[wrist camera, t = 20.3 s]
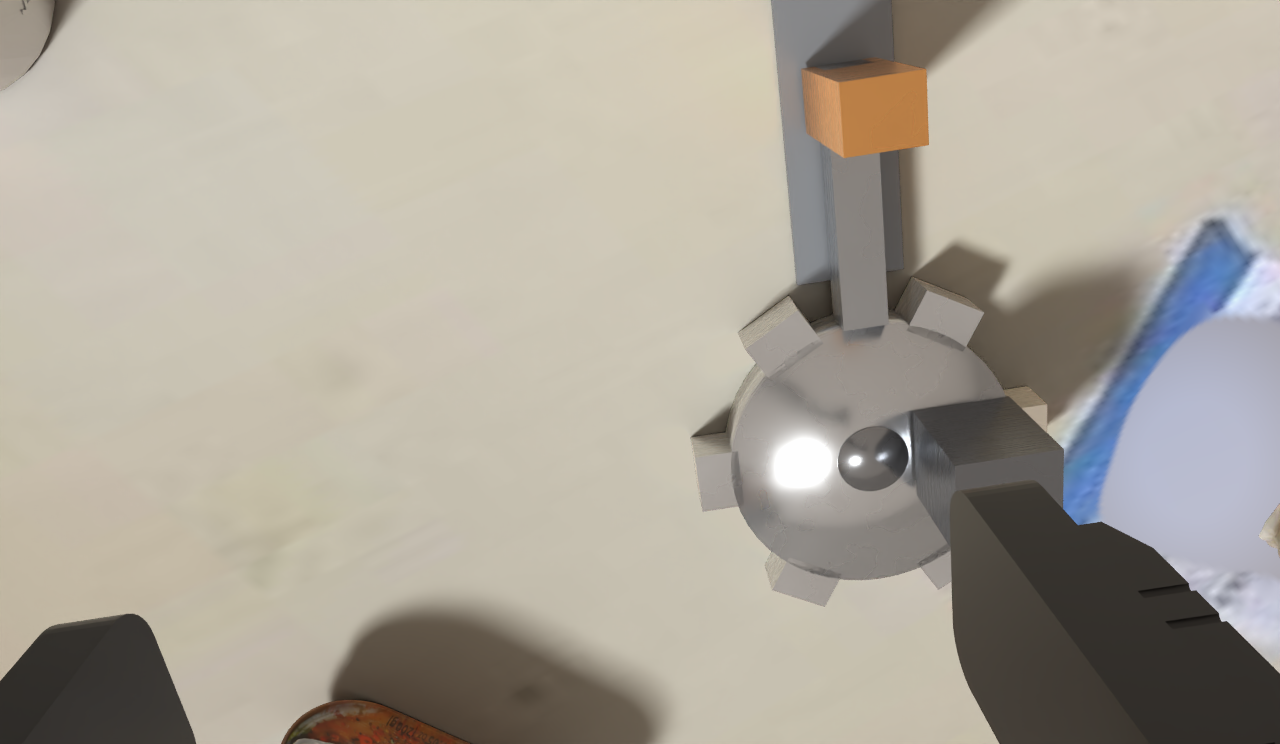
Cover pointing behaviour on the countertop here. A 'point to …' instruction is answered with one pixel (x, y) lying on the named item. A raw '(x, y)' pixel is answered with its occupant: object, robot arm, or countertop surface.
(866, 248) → the drive pin
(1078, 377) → the countertop surface
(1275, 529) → the garlic bulb
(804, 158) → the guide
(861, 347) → the sprocket
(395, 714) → the tin
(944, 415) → the grey cube with slot
